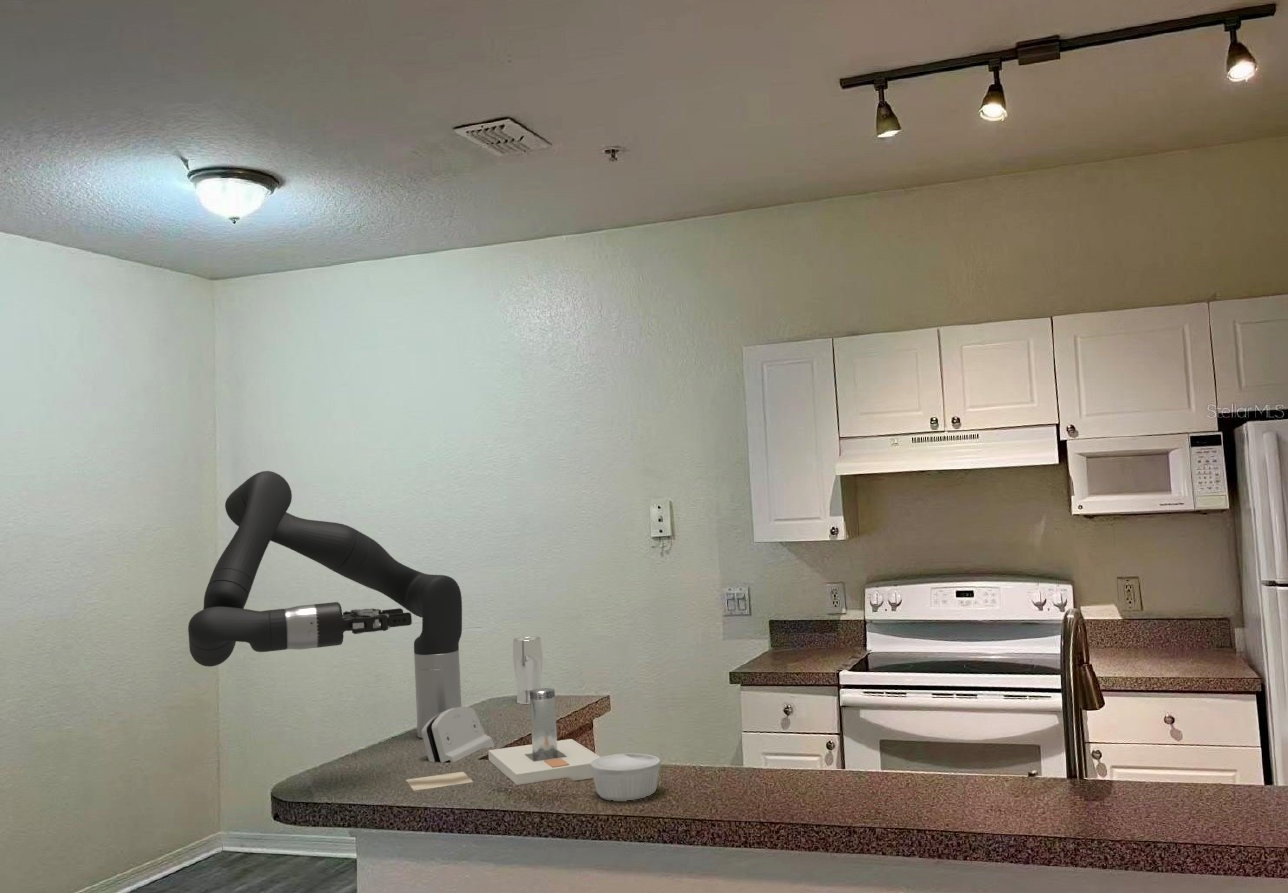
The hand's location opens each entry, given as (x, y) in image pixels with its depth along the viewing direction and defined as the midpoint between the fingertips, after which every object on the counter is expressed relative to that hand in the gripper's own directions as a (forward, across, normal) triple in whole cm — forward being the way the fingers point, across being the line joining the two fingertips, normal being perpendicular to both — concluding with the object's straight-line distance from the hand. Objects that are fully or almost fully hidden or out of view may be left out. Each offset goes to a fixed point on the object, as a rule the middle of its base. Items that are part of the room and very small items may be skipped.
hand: (407, 616), depth 194 cm
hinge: (+10, +10, +29) cm, 32 cm away
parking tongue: (+2, -10, +28) cm, 30 cm away
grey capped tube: (+21, -10, +28) cm, 37 cm away
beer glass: (+37, +54, +29) cm, 72 cm away
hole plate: (+21, -10, +28) cm, 37 cm away
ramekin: (+28, -32, +29) cm, 52 cm away
